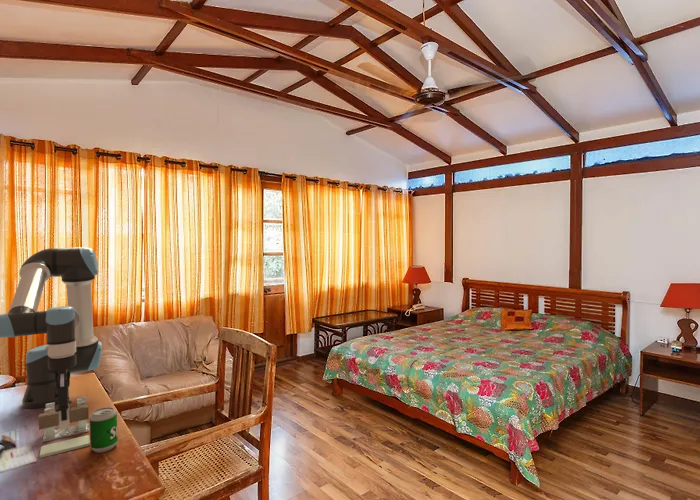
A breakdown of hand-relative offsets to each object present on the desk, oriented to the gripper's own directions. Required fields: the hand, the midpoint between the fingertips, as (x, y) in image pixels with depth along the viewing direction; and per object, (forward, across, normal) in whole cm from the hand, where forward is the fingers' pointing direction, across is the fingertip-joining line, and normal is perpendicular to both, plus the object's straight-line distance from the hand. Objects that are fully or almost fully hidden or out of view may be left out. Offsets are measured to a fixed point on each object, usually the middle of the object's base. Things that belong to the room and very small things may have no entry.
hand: (64, 427), depth 131 cm
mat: (+7, 0, 0) cm, 7 cm away
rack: (+7, -12, 0) cm, 14 cm away
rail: (-1, 0, 0) cm, 1 cm away
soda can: (+7, +8, +10) cm, 15 cm away
